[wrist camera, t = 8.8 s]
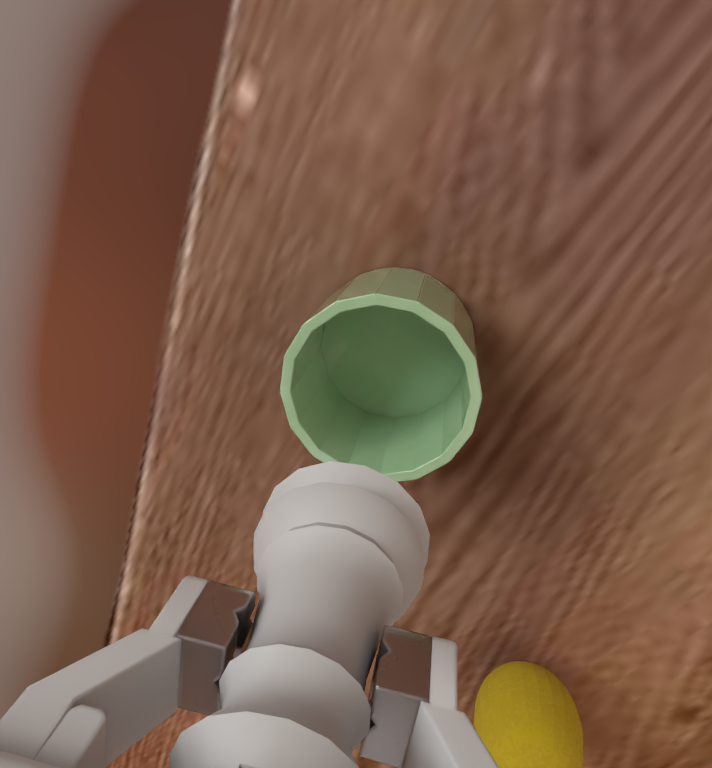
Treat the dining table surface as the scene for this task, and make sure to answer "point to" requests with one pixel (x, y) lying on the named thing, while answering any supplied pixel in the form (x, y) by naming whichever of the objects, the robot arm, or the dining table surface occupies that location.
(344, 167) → the dining table surface
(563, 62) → the dining table surface
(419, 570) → the rook chess piece
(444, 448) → the cup
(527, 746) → the lemon
